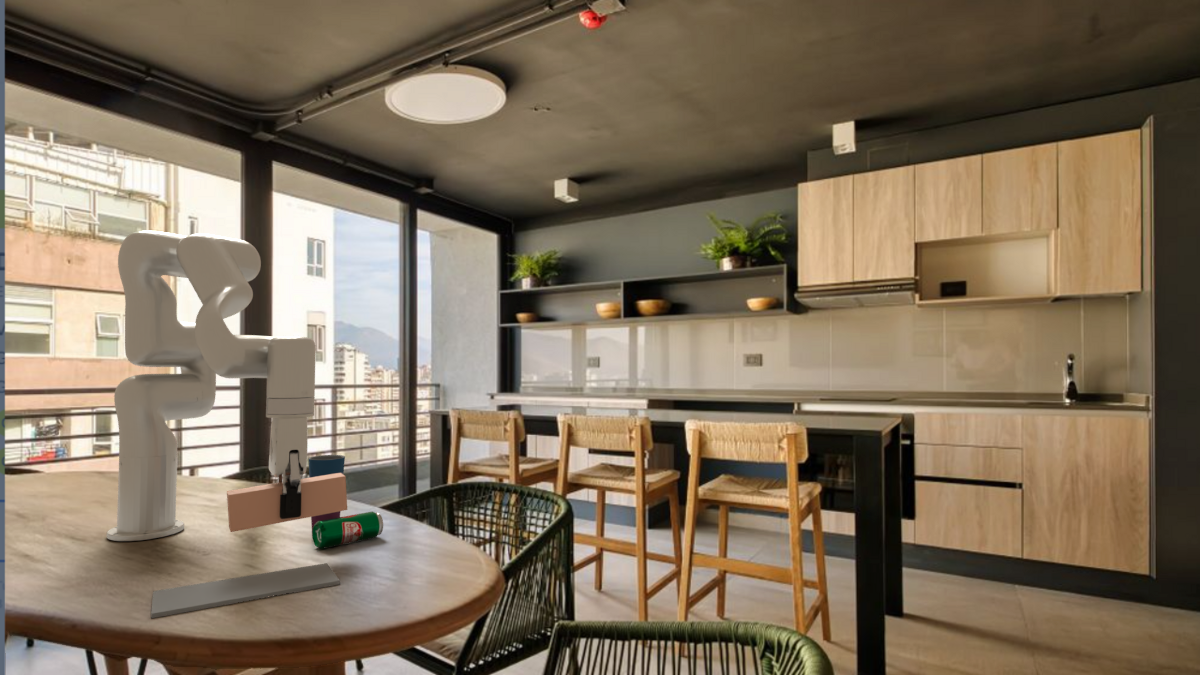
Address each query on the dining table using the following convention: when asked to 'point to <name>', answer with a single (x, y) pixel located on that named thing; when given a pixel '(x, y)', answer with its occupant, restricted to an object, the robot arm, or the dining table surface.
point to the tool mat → (241, 589)
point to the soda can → (347, 529)
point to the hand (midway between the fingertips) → (288, 513)
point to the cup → (325, 467)
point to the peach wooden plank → (264, 501)
